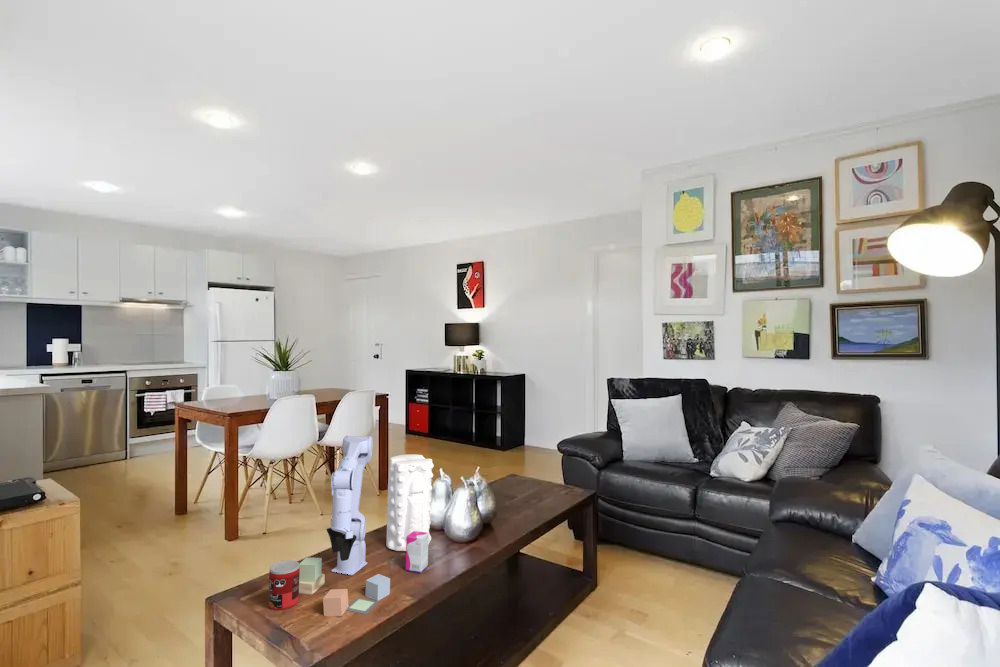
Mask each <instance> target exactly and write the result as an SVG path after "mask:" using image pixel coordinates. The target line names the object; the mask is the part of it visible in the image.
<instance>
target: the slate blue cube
mask: <svg viewBox="0 0 1000 667" xmlns="http://www.w3.org/2000/svg"><path fill="white" fill-rule="evenodd" d="M364 594H365V597H366V598H370V600H373V601H378V602H380V601H381V600H382V599H384V598H387V596H389V595H390V594H391V578H390V577H388V576H385V575H382V574H380V573H377V574H375V575H373V576H371V577H370V578H367V579H365V593H364Z"/></svg>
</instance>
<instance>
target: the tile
mask: <svg viewBox="0 0 1000 667" xmlns="http://www.w3.org/2000/svg"><path fill="white" fill-rule="evenodd" d="M379 603H380V601H376V600H373V599H367V598H362V597H356V598H355V599H354V600H353V601H352V602H351V603H349V607H348V608H347V610H346V611H345V612H351V613H356V614H361V615H365V616H366V615H367V614H368V613H370V612H371V610H373V609H374V608H375V607H376V606H377V605H378V604H379Z"/></svg>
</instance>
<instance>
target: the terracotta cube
mask: <svg viewBox="0 0 1000 667" xmlns="http://www.w3.org/2000/svg"><path fill="white" fill-rule="evenodd" d="M348 592H349V591H348V588H338V589H337V588H334V589H331V588H330V589H329V591H327V593H326V594H325V595H324V596H323V598H322V603H323V604H322V605H323V616H324V617H343V615H344V613H345V612H347V611H346V610H347V608H348V607H349V605H350V603H349V593H348Z"/></svg>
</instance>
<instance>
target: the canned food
mask: <svg viewBox="0 0 1000 667" xmlns="http://www.w3.org/2000/svg"><path fill="white" fill-rule="evenodd" d="M299 564H300V562H299V561H296V560H292V559H291V560H290V559H289V560H281V561H277V562H275V563H274V564H272V565H270V567H269V574H268V575H269V576H268V577H269V578H268V607H269V609H270V610H272V611H284V610H285V611H286V610H290V609H292V608H293V607H295V606H297V604H298V602H299V598H300V593H299V575H300V565H299Z"/></svg>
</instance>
